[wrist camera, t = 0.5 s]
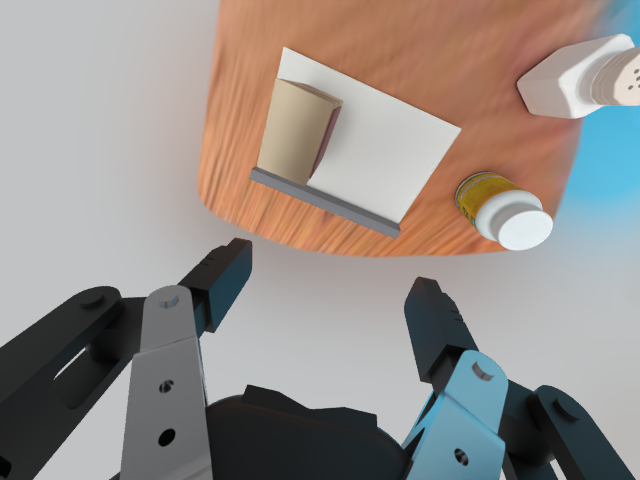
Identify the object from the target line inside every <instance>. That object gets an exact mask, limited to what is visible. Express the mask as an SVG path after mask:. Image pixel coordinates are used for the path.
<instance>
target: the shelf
mask: <svg viewBox="0 0 640 480" xmlns="http://www.w3.org/2000/svg"><path fill="white" fill-rule="evenodd" d="M277 78H280V79H285V80H289V81H294V82H299V83H304V84H307V85H310V86H312V87H314V88H316V89H318V90H321V91H323V92H325V93H327V94H329V95H332V96H334V97H336V98H338V99H340V100H343V104H342V108H341V111H340V113H339V116H338V119H337V121H336V124H335V127H334V129H333V132H332V135H331V137H330V140H329V143H328V145H327V148H326V151H325V153H324V156H323V159H322V161H321V162H320V164H319V166H318V167H317V169H316V171H315V172H314V174H313V176H312V177H311V179H309V181H308V182H307V184H306V186H305V187H304V186H302V185H299V184H297V183H295V182H292V181H290V180H287V179H285V178H283V177H280V176H278V175H276V174H273V173H271V172H268V171H266V170H264V169H261V168H259V167H257V166H256V167H254V168H253V169H252V170H251V175H250V179H252V180H254V181H256V182H259V183H261V184H264V185H266V186H269V187H271V188H273V189H276V190H278V191H281V192H283V193H285V194H288V195H290V196H293V197H295V198H297V199H300V200H302V201H305V202H307V203H310V204H312V205H314V206H317V207H319V208H322V209H324V210H326V211H329V212H331V213H334V214H336V215H338V216H341V217H343V218H346V219H348V220H351V221H353V222H355V223H358V224H360V225H363V226H365V227H368V228H370V229H372V230H375V231H377V232H380V233H382V234H384V235H387V236H389V237H392V238H394V239H396V238H397V236H398V235H399V233H400V232H401V230H400V227H399V222H400V221H401V219H402V218H403V216H404V215H405V213H406V212H407V210H408V209H409V207H410V206H411V204H412V203H413V201H414V200H415V198H416V197H417V195H418V194H419V192H420V191H421V189H422V188H423V186H424V185H425V183H426V182H427V180H428V179H429V177H430V176H431V174H432V173H433V171H434V170H435V168H436V167H437V165H438V164H439V162H440V161H441V159H442V158H443V156H444V155H445V153H446V152H447V150H448V149H449V147H450V146H451V144H452V143H453V141H454V140H455V138H456V137H457V135H458V134H459V132H460V131H461V128H458V127H456V126H454V125H452V124H450V123H448V122H445V121H443V120H441V119H439V118H437V117H435V116H432V115H430V114H428V113H426V112H424V111H422V110H420V109H417V108H415V107H413V106H411V105H409V104H407V103H404V102H402V101H400V100H398V99H396V98H394V97H391V96H389V95H387V94H385V93H383V92H381V91H379V90H376V89H374V88H372V87H370V86H368V85H366V84H363V83H361V82H359V81H357V80H355V79H353V78H350V77H348V76H346V75H344V74H342V73H340V72H338V71H335V70H333V69H331V68H329V67H327V66H325V65H322V64H320V63H318V62H316V61H314V60H312V59H309V58H307V57H305V56H303V55H301V54H299V53H297V52H294V51H292V50H290V49H288V48H286V47H284V48H283V53H282V57H281V62H280V66H279V71H278V76H277Z"/></svg>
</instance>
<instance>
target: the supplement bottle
mask: <svg viewBox="0 0 640 480" xmlns="http://www.w3.org/2000/svg"><path fill="white" fill-rule="evenodd" d="M455 201H456V205H457V207H458V208H459V209H460V211H461V212H462V213H463V214H464V215H465V216H466V217H467V219H468V220H469V221H470V222H471V223H472V225H473V226H474V227H475V228H476V229H477V230H478V231H479V233H480V234H481V235H483V236H484V237H486V238H487V239H490V240H493V241H498V242H499V243H500V244H501V245H502V246H503V247H505V248H507V249H510V250H525V249H529V248H531V247H534V246H536V245H538V244H539V243H541V242H542V241H544V240H545V239H546V238H547V237H548V235H549V234H550V232H551V230H552V227H553V222H552V219H551V217H550V216H549V215H548V214H547V213H545V212H544V211H543V210H542V205H541V202H540V201H539V199H538V198H537V197H536V196H535V195H533V194H532V193H530V192H528V191H526V190H524V189H523V188H521V187H519V186H517V185H516V184H514V183H512V182H511V181H509V180H507V179H505V178H504V177H502V176H500V175H498V174H496V173H492V172H483V173H478V174H475V175H472V176H470V177H469V178H467V179H466V180H465V181H464V182H463V183H462V184H461V185H460V186H459V188H458V190H457V192H456V196H455Z"/></svg>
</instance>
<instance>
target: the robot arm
mask: <svg viewBox="0 0 640 480" xmlns="http://www.w3.org/2000/svg"><path fill="white" fill-rule="evenodd" d="M251 270H252V242H251V241H250V240H245V239H240V238H234V239H233V240H232V241H231V242H230V243H229V244H228V245H227V246H220V247H218V248H216V249H214V250H212V251H211V252H210V253H209V254H208V255H207V256H206V257H205V258H204V259H203V260H202V261H201V262H200V263H199V264H198V265H197V266H195V267H194V268H193V269H192V271H190V272H189V273H188V274H187V275H186V276H185V277H184V278H183V279H182V280H181V281H180V282H179V283H178V284H177V285H171V286H166V287H162V288H160V289H158V290H156V291H154V292H152V293H151V294H150V295H149V296H148V297H135V298H122V297H121V294H120V292H119V290H118V289H116V288H114V287H110V286H100V287H94V288H91V289H87V290H84V291H82V292H80V293H78V294H76V295H74V296H72V297H71V298H70V299H68V300H67V301H66V302H64V303H63V304H61V305H60V306H58V307H57V308H55V309H54V310H53V311H51V312H50V313H49V314H47V315H46V316H45V317H43V318H41V319H40V320H39V321H37V322H36V323H35V324H33V325H32V326H30V327H29V328H27V329H26V330H25V331H23V332H22V333H21V334H19V335H18V336H16V337H15V338H13V339H12V340H11V341H9V342H8V343H6V344H5V345H4V346H2V347H1V348H0V480H33V479H34V477H35V476H36V475H37V474H38V473H39V471H40V470H41V469H42V468H43V467H44V465H45V464H46V463H47V461H48V460H49V459H50V458H51V457H52V456H53V454H54V453H55V452H56V451H57V449H58V448H59V447H60V446H61V445H62V443H63V442H64V441H65V440H66V438H67V437H68V436H69V435H70V434H71V432H72V431H73V430H74V429H75V428H76V426H77V425H78V424H79V423H80V422H81V420H82V419H83V418H84V417H85V415H86V414H87V413H88V412H89V410H90V409H91V408H92V407H93V406H94V404H95V403H96V402H97V401H98V400H99V398H100V397H101V396H102V395H103V394H104V392H105V391H106V390H107V389H108V387H109V386H110V385H111V384H112V383H113V381H114V380H115V379H116V378H117V377H118V375H119V374H120V373H121V371H122V370H123V369H124V368H125V367H126V366H127V364H128V363H129V362H130V361H131V360H132V358H133V360H132V368H131V377H130V386H129V396H128V405H127V414H126V424H125V433H124V442H123V451H122V461H121V471H120V472H119V473H117V474H116V475H115V476H113V477H112V478H111V479H109V480H499V478H500V473H501V468H502V469H503V472H504V474H505V477H506V480H558V478H557V477H556V474H555V472H554V470H553V468H552V466H551V464H550V461H552V460H554V459H556V460H557V462H558V464H559V466H560V467H561V469H562V471H563V473H564V475H565V477H566V479H567V480H636V479H635V478H634V476H633V475H632V474H631V472H630V471H629V470H628V468H627V467H626V465H625V464H624V462H623V461H622V460H621V458H620V457H619V455H618V454H617V453H616V451H615V450H614V448H613V447H612V446H611V444H610V443H609V441H608V440H607V439H606V437H605V436H604V434H603V433H602V432H601V430H600V429H599V427H598V426H597V425H596V423H595V422H594V421H593V419H592V418H591V416H590V415H589V414H588V413H587V411H586V410H585V409H584V408H583V407H582V406H581V405H580V404H579V403H578V402H576V401H575V400H574V399H573V398H572V397H570V396H569V395H567V394H566V393H564V392H563V391H561V390H559V389H557V388H555V387H552V386H548V385H542V386H540V387H539V388H537V389H536V390H535V391H534V392H533V391H531V390H529V389H527V388H525V387H523V386H521V385H519V384H517V383H515V382H513V381H511V380H509V379H507V377H506V375H505V373H504V372H503V370H502V369H501V368H500V367H499V365H498V364H497V363H496V362H495V361H493V360H492V359H491V358H490V357H488V356H486V355H485V354H483V353H481V352H479V350H478V348H477V346H476V344H475V342H474V340H473V338H472V336H471V334H470V332H469V330H468V328H467V326H466V324H465V322H463V318H462V316H461V314H459V310H458V308H457V306H456V304H455V302H454V301H453V300H452V299H451V298H450V297H449V296H448V295H447V294H446V293H442V291H441V289H440V287H439V285H438V282H437V281H436V280H433V279H428V278H423V277H418V278H416V280H415V282H414V284H413V286H412V288H411V290H410V292H409V294H408V297H407V299H406V301H405V305H404V313H405V318H406V322H407V326H408V330H409V334H410V338H411V343H412V347H413V351H414V355H415V360H416V364H417V368H418V372H419V377H420V381H422V382H426V383H430V384H432V386H433V391H432V393H431V394H430V396H429V398H428V400H427V402H426V403H425V405H424V407H423V409H422V411H421V413H420V414H419V416H418V418H417V420H416V422H415V424H414V426H413V427H412V429H411V431H410V433H409V434H408V436H407V437H406V439H405V441H404V442H403V443H402V445H401V446H400V445H399V444H398V443H397V442H396V441H395V440H394V439H393V438H392V437H391V436H390V435H389V434H387V433H386V432H385V431H383V430H382V429H381V428H378V427H377V416H376V415H375V414H371V413H367V412H363V411H358V410H354V409H350V408H346V407H339V408H324V409H308V408H306V407H304V406H303V405H301V404H299V403H298V402H296V401H294V400H292V399H291V398H289V397H287V396H285V395H284V394H282V393H280V392H278V391H274V390H269V389H265V388H261V387H257V386H253V385H247V387H246V389H245V392H244V394H242V395H235V396H230V397H227V398H224V399H221V400H219V401H217V402H214V403H212V404H211V405H209V404H208V398H207V391H206V385H205V378H204V371H203V363H202V356H201V348H200V341H199V338H200V337H201V335H202V334H203V332H204V331H206V332H211V333H214V332H215V331H216V329H217V328H218V326H219V324H220V323H221V321H222V320H223V318H224V317H225V315H226V313H227V311H228V310H229V309H230V307H231V306H232V304H233V302H234V301H235V299H236V297H237V296H238V295H239V293H240V291H241V290H242V288H243V287H244V285H245V283H246V282H247V280H248V279H249V277H250V274H251ZM84 347H85V349H86V350H85V351H84V352H83V353H82V354H80V355H79V356H78V358H76V359H75V360H74V361H73V362H72V363H71V364H70V365H69V366H68V367H67V368H66V369H65V370H64V371H63V372H62V373H61V374H60V375H58V376H57V377H56V378H55V376H56V375H57V373H58V372H59V371H60V370H61V369H62V368H63V367H64V366H65V365H66V364H67V363H68V362H70V361H71V359H73V358H74V357H75V356H76V355H77V354H78V353H79V352H80V351H81V350H82V349H83V348H84ZM54 378H55V379H54Z"/></svg>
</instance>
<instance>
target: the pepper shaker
mask: <svg viewBox="0 0 640 480" xmlns="http://www.w3.org/2000/svg"><path fill="white" fill-rule="evenodd" d="M517 87H518V89H519V91H520V93H521V96H522V98H523V100H524V102H525V104H526V106H527V108H528V110H529V112H530V113H532V114H534V115H543V116H552V117H561V118H570V119H575V118H579V117H584V116H586V115H588V114H589V113H591V112H593V111H595V110H597V109H599V108H600V107H602V106H608V105H620V106H637V105H640V46H638V47H635V46H634V44H633V42H632V40H631V38H630V37H629V36H627V35H624V34H622V33H621V34H616V35H612V36H608V37H604V38H599V39H595V40H591V41H587V42H583V43H578V44H574V45H570V46H566V47H563V48H560V49H558V50H556V51H555V52H554V53H552V54H551V55H550V56H548V57H547V58H546V59H545V60H543V61H542V62H541V63H539V64H538V65H537V66H535V67H534V68H533V69H531V70H530V71H529V72H527V73H526V74H525V75H523V76H522V77H521V78H520V79H519V80H518V82H517Z"/></svg>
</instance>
